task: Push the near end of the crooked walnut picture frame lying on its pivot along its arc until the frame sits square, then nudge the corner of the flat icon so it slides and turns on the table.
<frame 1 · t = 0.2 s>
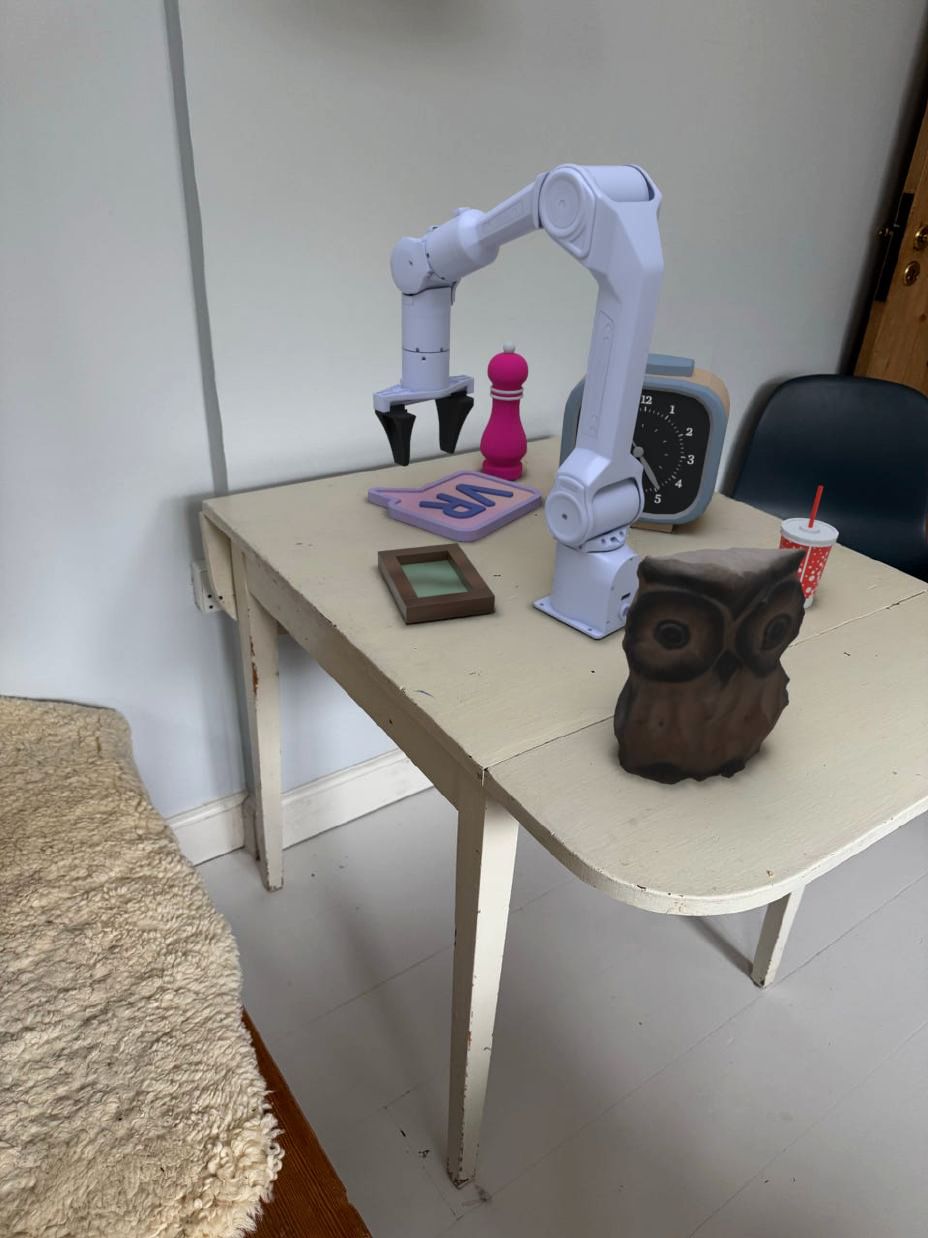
hand: (424, 457, 106), 10 cm above the table, tool pointing down, fingers open, 7 cm apart
beverage cup: (790, 600, 98), on the table
owl: (681, 741, 75), on the table
frame: (433, 580, 96), point 1 cm above the table, hinge at -25.0°
icon: (452, 504, 120), on the table
alarm clock: (632, 517, 118), on the table
pepper mill: (501, 475, 130), on the table
pivot: (433, 590, 97), on the table
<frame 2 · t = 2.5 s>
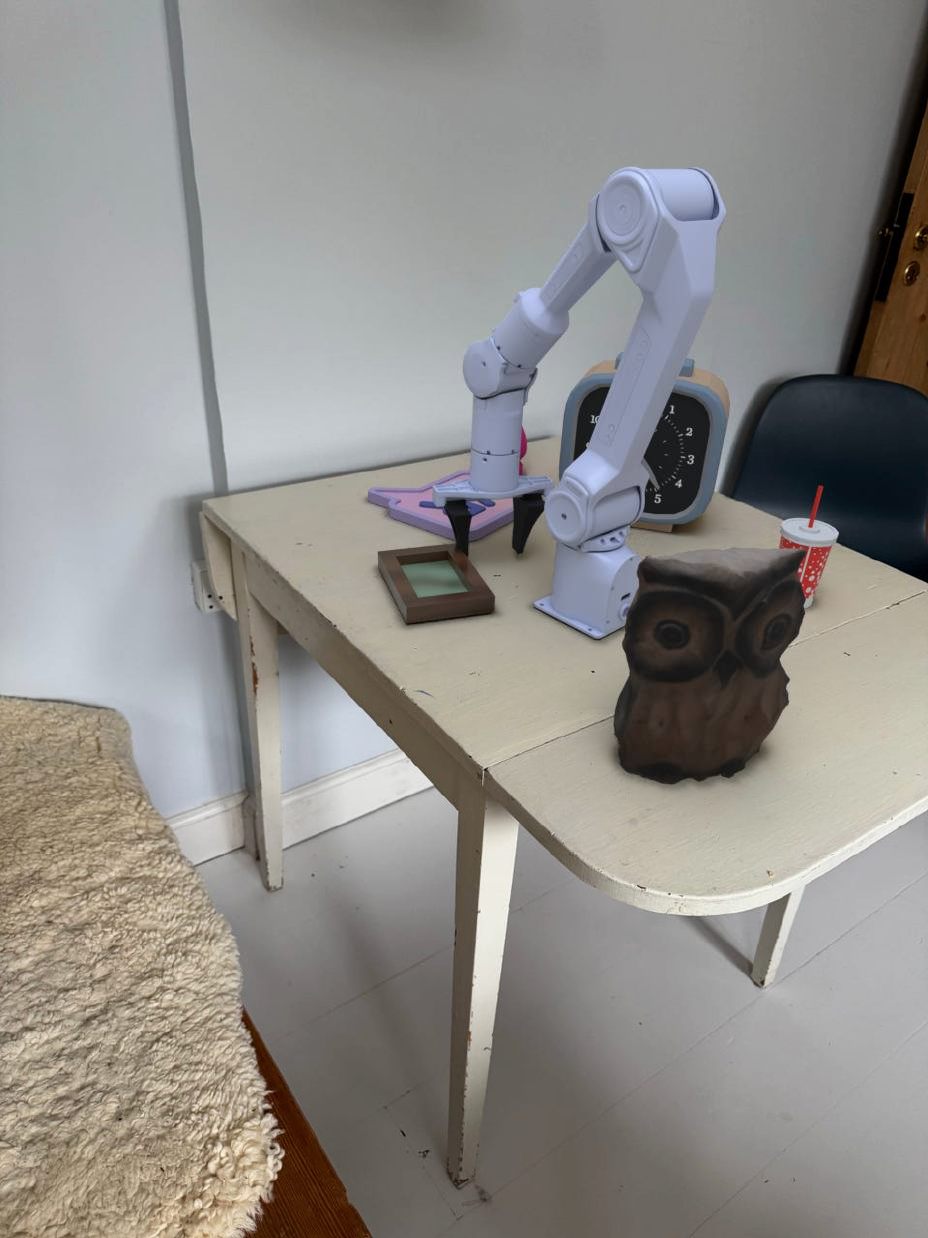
hand: (490, 553, 104), 1 cm above the table, tool pointing down, fingers open, 7 cm apart
frame: (433, 580, 96), point 1 cm above the table, hinge at -24.9°, touching gripper
everything else where it was.
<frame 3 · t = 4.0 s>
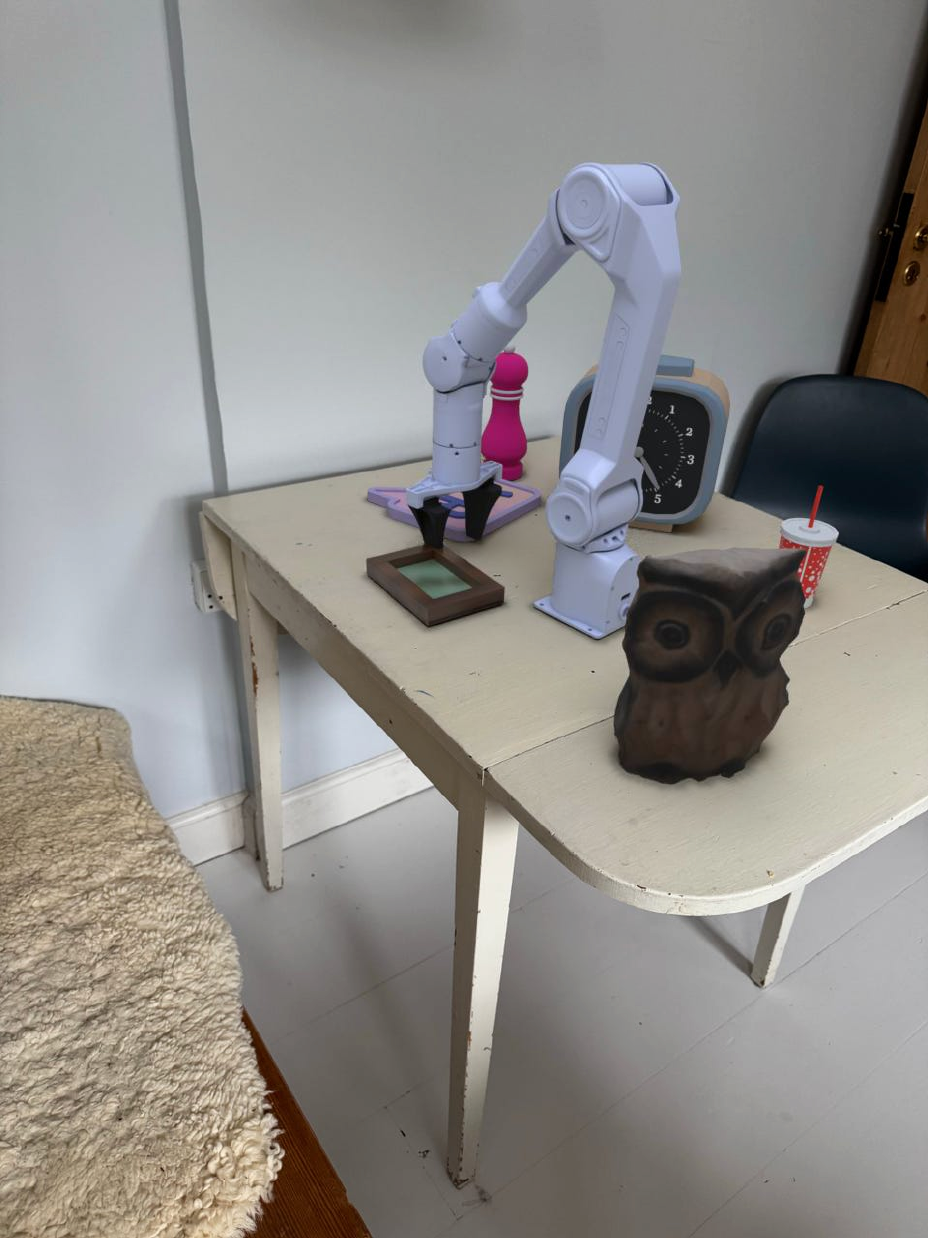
hand: (454, 545, 105), 1 cm above the table, tool pointing down, fingers open, 7 cm apart
frame: (433, 580, 96), point 1 cm above the table, hinge at -9.1°, touching gripper
icon: (451, 504, 120), on the table, touching gripper
everything else where it was.
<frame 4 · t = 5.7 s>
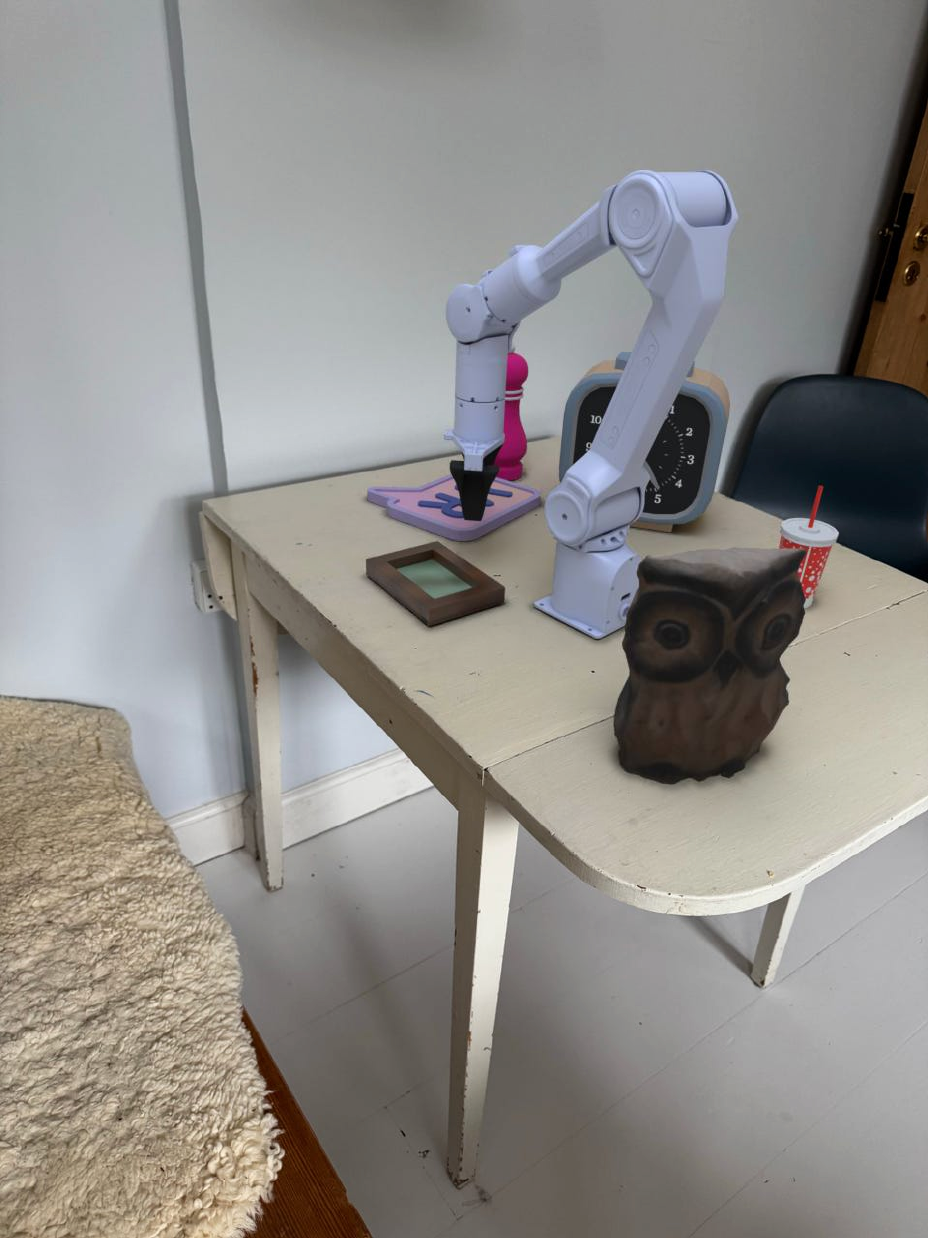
hand: (475, 507, 102), 6 cm above the table, tool pointing down, fingers open, 7 cm apart
frame: (433, 580, 96), point 1 cm above the table, hinge at -8.2°
icon: (451, 504, 120), on the table
everything else where it was.
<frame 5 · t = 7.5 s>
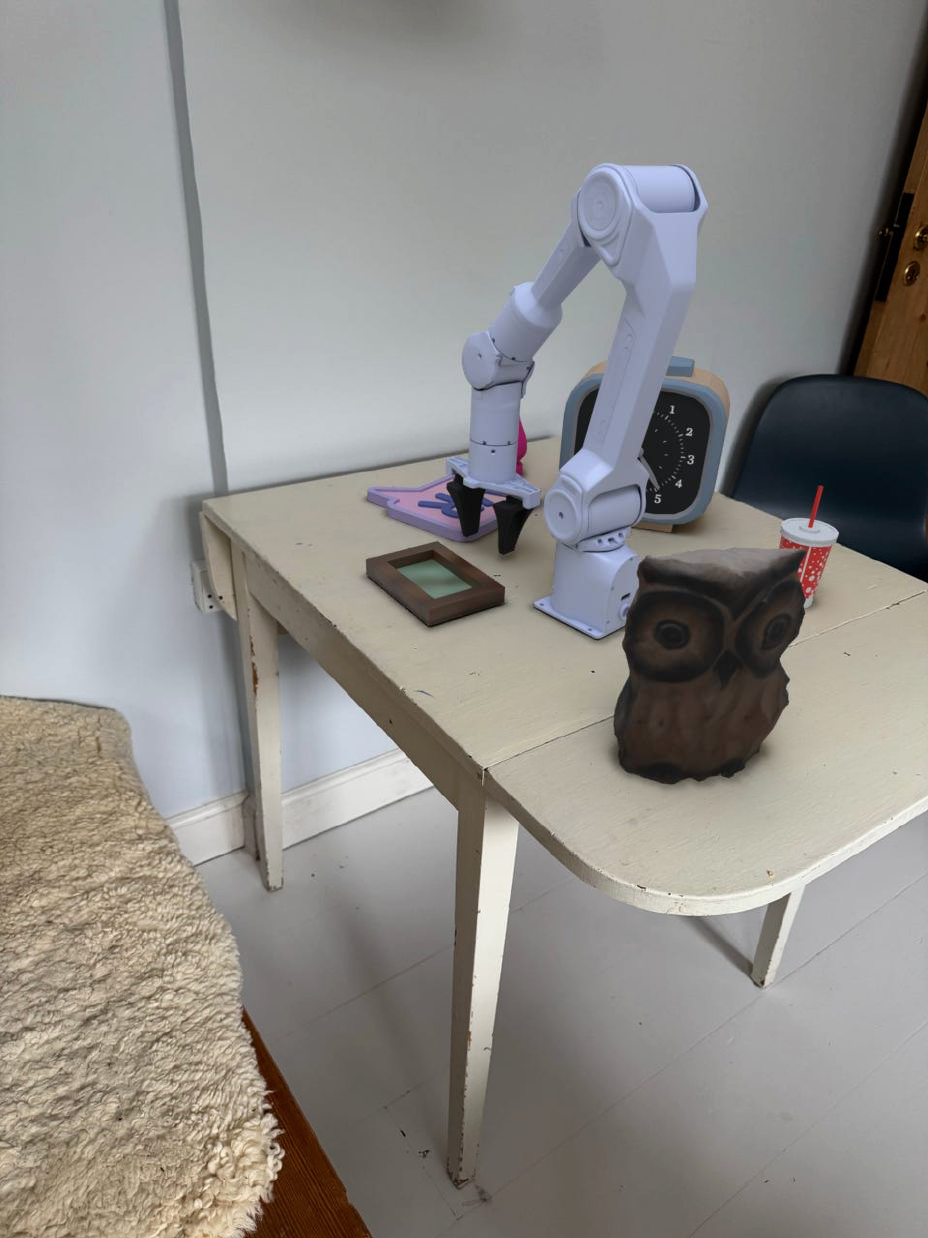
hand: (488, 543, 106), 1 cm above the table, tool pointing down, fingers open, 6 cm apart
icon: (451, 504, 120), on the table, touching gripper
everything else where it was.
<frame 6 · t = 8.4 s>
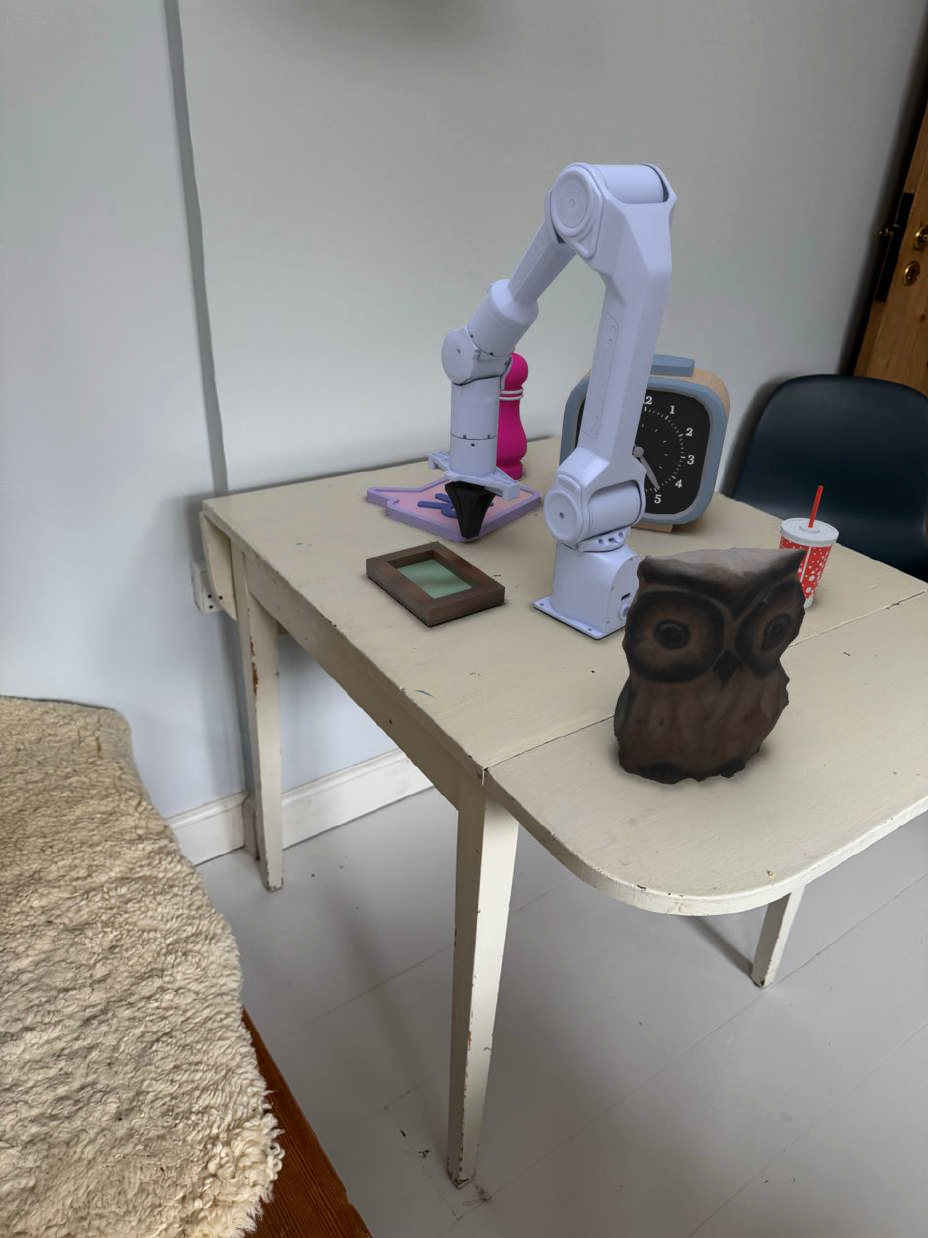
hand: (470, 535, 108), 1 cm above the table, tool pointing down, fingers closed, pressing on icon
icon: (450, 504, 120), on the table, touching gripper
everything else where it was.
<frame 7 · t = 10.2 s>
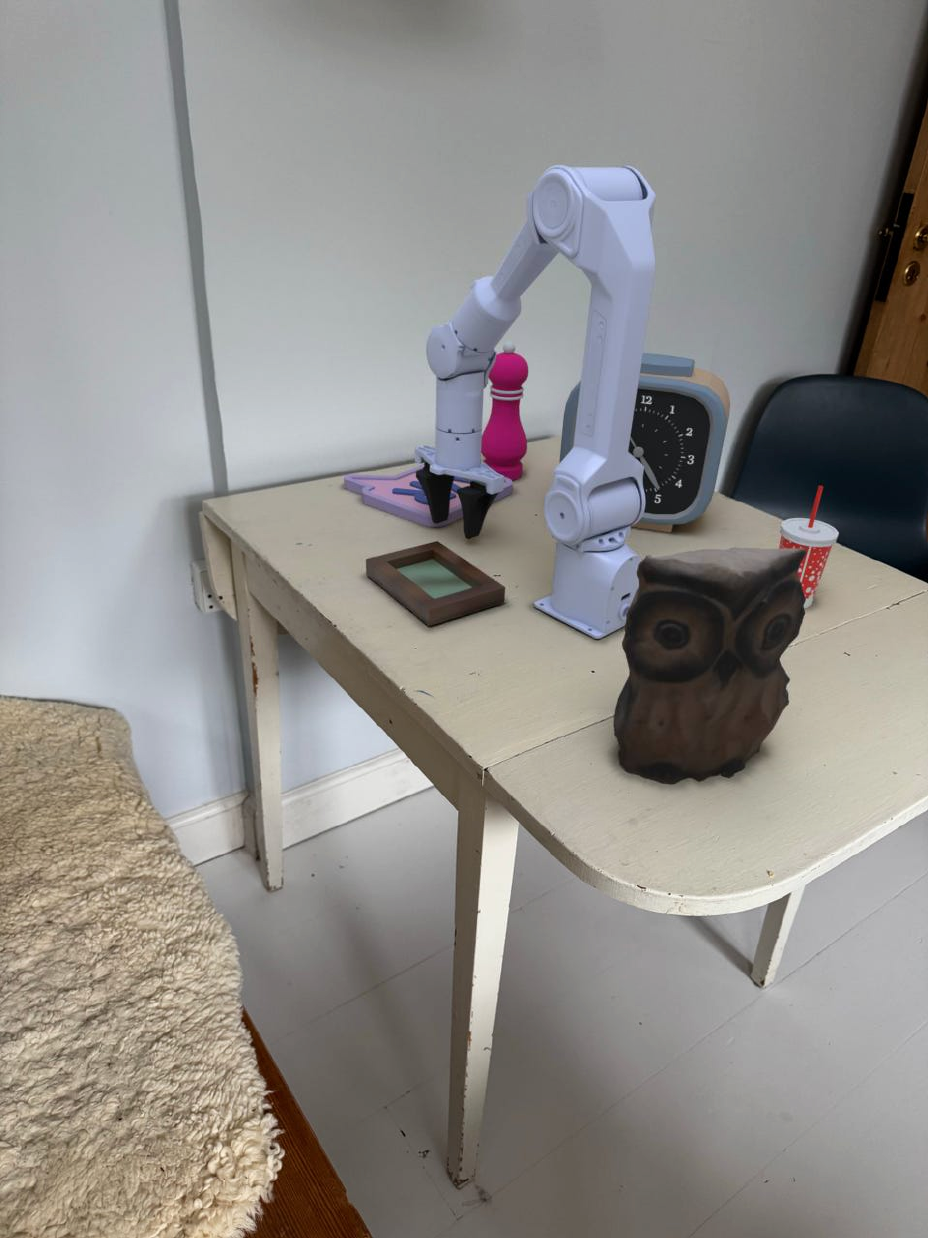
hand: (455, 528, 109), 1 cm above the table, tool pointing down, fingers open, 6 cm apart
icon: (425, 492, 123), on the table, touching gripper
everything else where it was.
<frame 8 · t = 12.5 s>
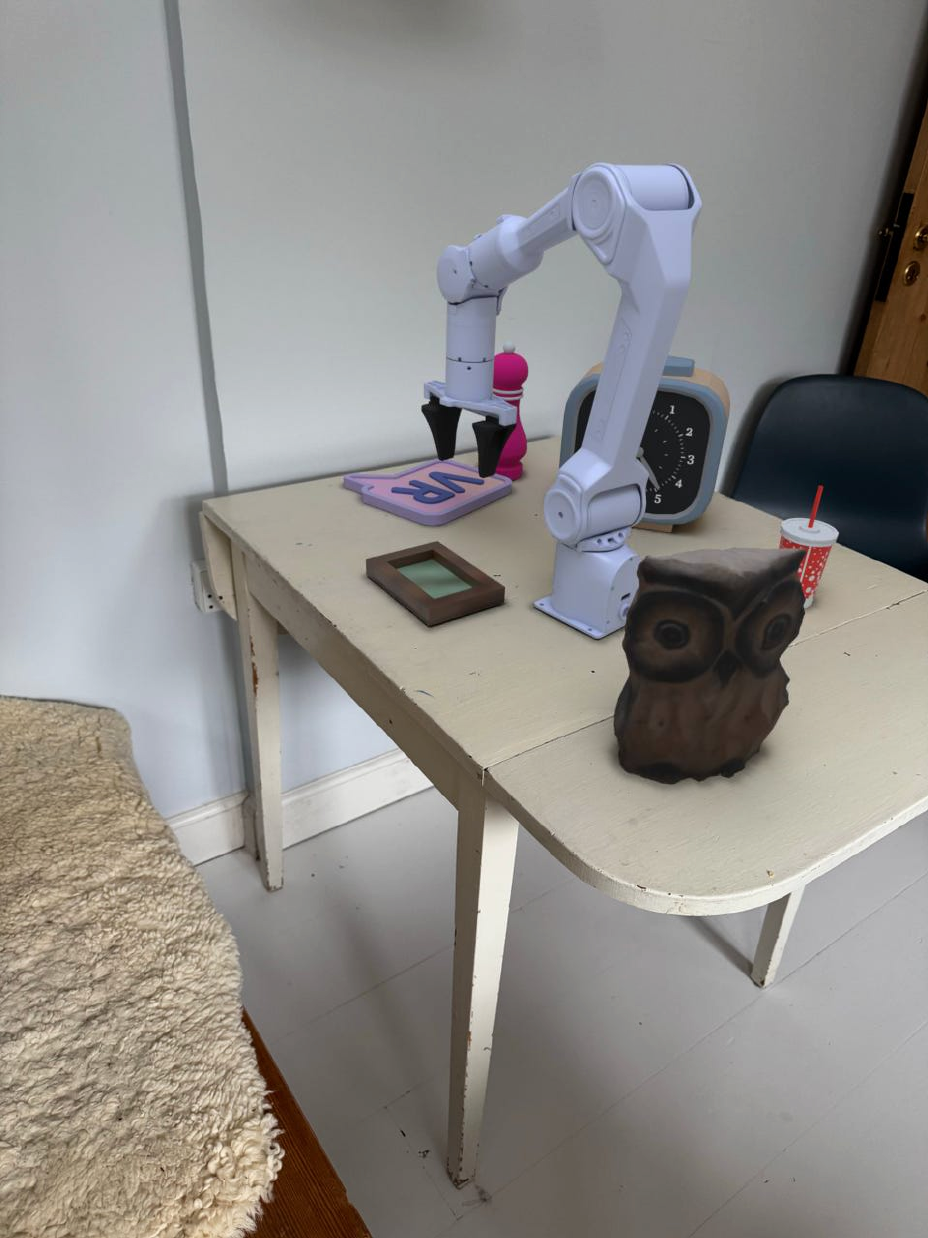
hand: (466, 467, 106), 9 cm above the table, tool pointing down, fingers open, 7 cm apart
icon: (424, 491, 124), on the table
everything else where it was.
at the end: frame at -8° (first picture: -25°); icon moved 6.3 cm from its start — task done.
